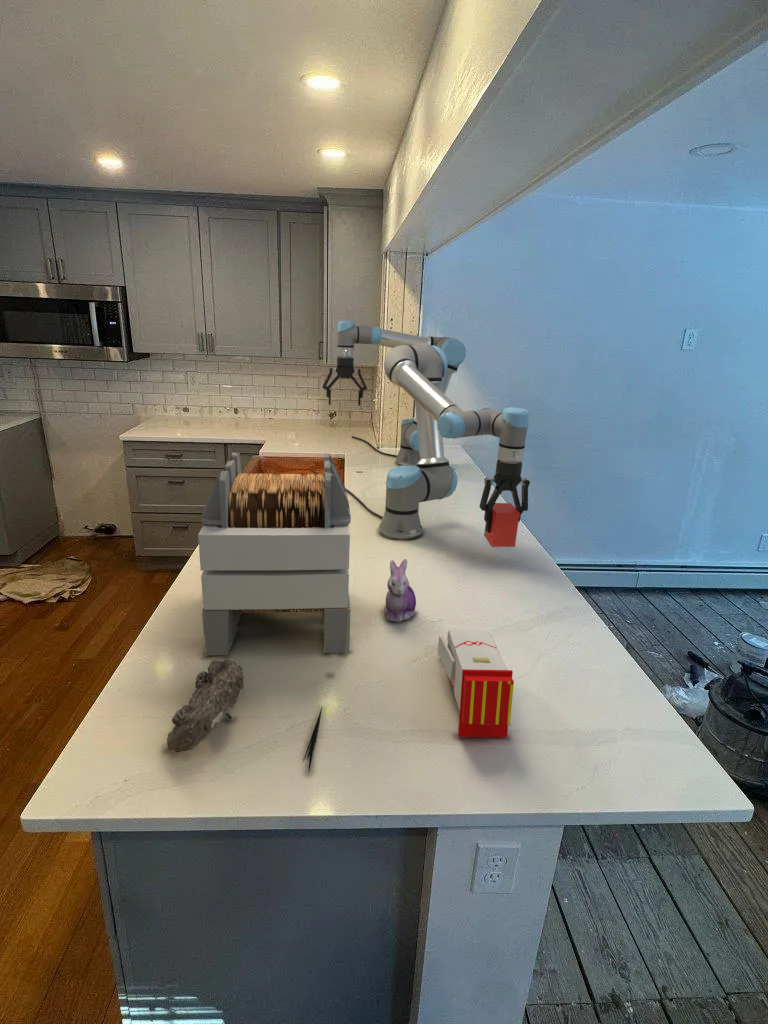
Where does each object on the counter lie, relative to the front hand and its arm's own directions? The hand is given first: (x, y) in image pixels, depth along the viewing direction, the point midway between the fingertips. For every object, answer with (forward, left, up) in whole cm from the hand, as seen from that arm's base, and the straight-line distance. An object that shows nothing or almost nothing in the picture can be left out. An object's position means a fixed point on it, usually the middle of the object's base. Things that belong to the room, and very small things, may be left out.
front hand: (500, 531), depth 177 cm
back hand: (-110, +21, +21) cm, 114 cm away
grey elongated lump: (+13, -102, -11) cm, 103 cm away
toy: (+38, -57, -11) cm, 69 cm away
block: (0, 0, -4) cm, 4 cm away
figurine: (+6, -47, -11) cm, 49 cm away
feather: (+26, -86, -11) cm, 91 cm away
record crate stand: (-10, -73, -11) cm, 74 cm away
